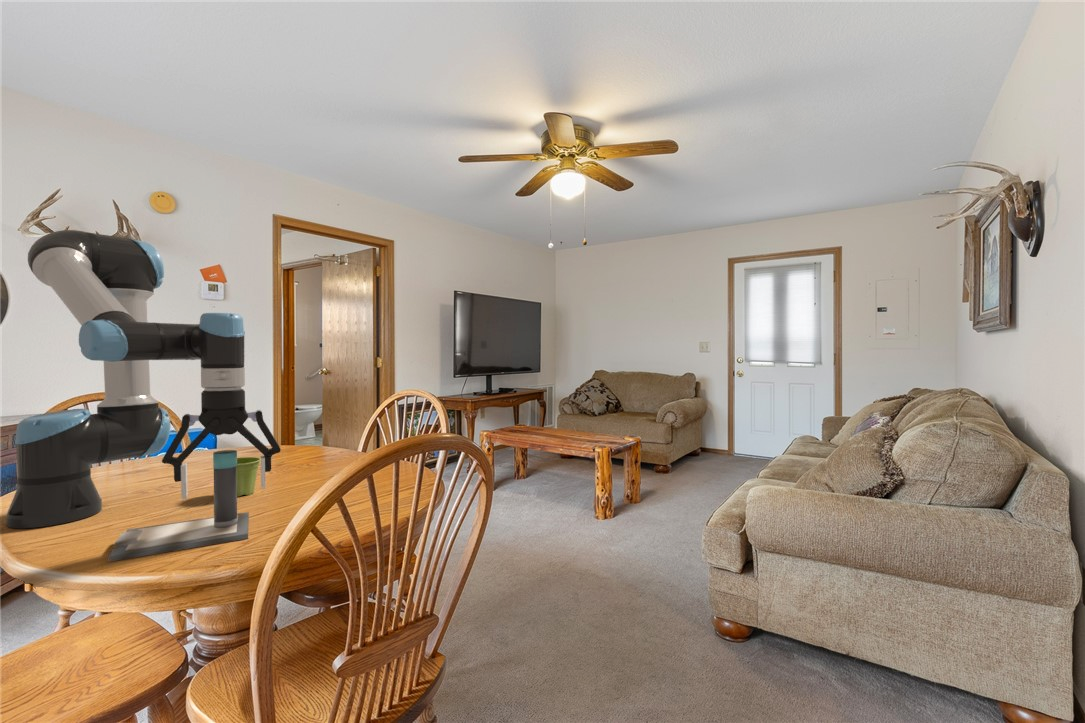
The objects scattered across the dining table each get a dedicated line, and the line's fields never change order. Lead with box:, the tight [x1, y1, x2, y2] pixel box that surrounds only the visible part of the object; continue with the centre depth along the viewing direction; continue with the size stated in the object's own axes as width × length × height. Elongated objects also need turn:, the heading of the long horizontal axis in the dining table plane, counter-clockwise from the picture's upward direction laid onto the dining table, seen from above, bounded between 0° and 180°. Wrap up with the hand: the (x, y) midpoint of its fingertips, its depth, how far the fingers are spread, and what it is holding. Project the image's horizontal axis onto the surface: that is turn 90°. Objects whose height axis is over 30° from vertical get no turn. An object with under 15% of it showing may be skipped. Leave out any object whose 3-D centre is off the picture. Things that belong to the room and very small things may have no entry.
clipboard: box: [108, 511, 250, 563], centre depth 98 cm, size 21×15×2 cm
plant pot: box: [237, 456, 261, 498], centre depth 128 cm, size 9×9×9 cm
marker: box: [212, 449, 238, 528], centre depth 102 cm, size 4×4×15 cm
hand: (225, 492), depth 102 cm, fingers open, 13 cm apart
